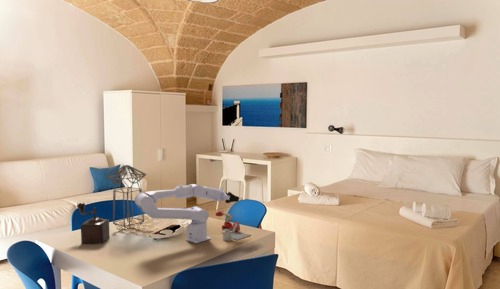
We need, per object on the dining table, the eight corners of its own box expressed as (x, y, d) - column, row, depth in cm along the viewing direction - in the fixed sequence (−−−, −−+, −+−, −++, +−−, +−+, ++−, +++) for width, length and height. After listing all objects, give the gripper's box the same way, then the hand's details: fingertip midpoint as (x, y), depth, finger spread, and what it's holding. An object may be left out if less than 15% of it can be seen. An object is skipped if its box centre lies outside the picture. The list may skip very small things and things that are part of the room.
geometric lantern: (150, 229, 215) (148, 164, 212) (126, 236, 202) (124, 167, 199) (130, 224, 224) (128, 162, 221) (106, 231, 210) (104, 165, 208)
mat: (237, 240, 195) (237, 239, 195) (222, 236, 202) (222, 235, 202) (250, 235, 202) (250, 235, 202) (236, 231, 209) (236, 231, 209)
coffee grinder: (111, 237, 202) (109, 201, 200) (102, 244, 191) (101, 206, 189) (80, 237, 202) (79, 201, 201) (70, 244, 191) (68, 206, 190)
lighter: (223, 240, 195) (222, 224, 195) (223, 239, 197) (223, 223, 196) (237, 240, 195) (237, 224, 194) (237, 239, 196) (237, 223, 196)
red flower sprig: (237, 232, 207) (236, 213, 206) (216, 229, 214) (215, 211, 213) (241, 230, 209) (240, 212, 209) (219, 228, 217) (219, 210, 216)
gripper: (220, 187, 193) (243, 192, 200) (207, 184, 205) (229, 188, 212) (217, 202, 192) (240, 206, 200) (204, 197, 205) (226, 201, 212)
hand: (234, 198), depth 206 cm, fingers open, 7 cm apart
